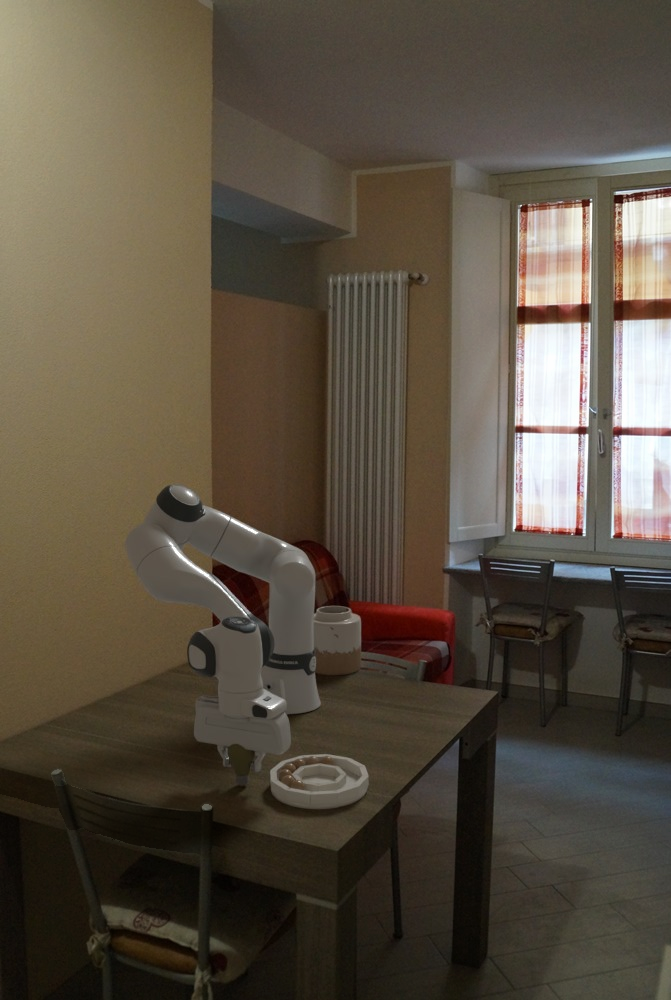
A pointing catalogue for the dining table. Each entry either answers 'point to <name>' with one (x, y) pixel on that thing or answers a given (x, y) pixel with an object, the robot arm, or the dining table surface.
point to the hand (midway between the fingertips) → (242, 768)
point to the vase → (337, 640)
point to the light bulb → (240, 762)
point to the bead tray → (319, 781)
